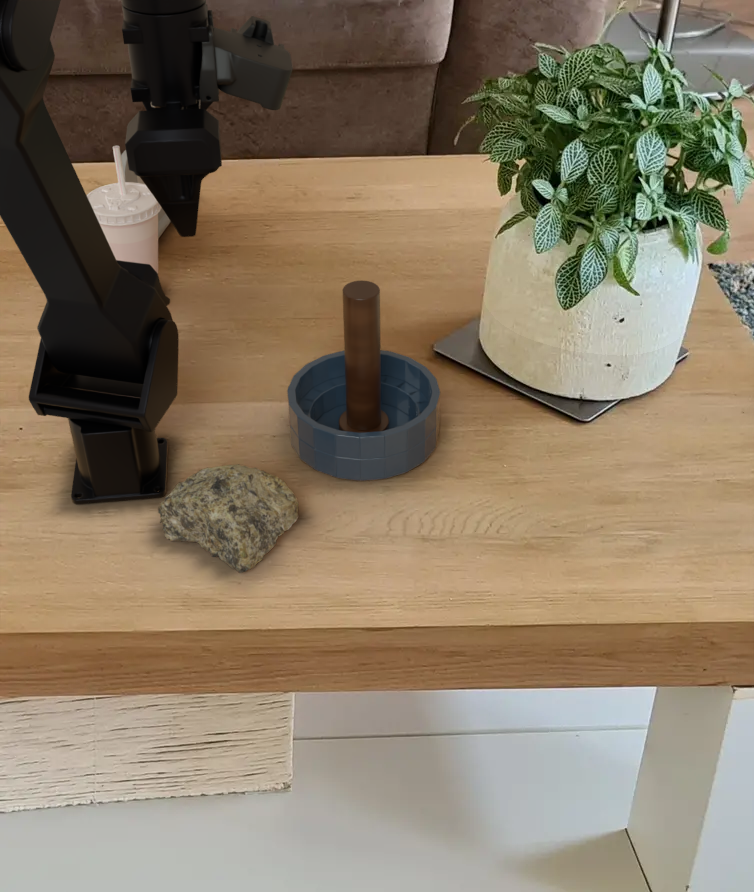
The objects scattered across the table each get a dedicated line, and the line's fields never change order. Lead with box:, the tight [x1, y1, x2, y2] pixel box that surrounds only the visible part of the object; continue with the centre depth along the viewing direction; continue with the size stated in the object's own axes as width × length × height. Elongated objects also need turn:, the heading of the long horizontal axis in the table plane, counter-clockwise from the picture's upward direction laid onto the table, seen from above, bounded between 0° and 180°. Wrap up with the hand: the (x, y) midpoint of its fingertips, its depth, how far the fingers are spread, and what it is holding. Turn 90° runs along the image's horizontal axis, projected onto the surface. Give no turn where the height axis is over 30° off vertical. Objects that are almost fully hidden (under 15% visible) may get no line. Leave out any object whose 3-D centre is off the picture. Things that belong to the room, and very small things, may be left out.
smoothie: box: [86, 145, 161, 274], centre depth 100 cm, size 6×6×14 cm
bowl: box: [286, 349, 441, 482], centre depth 88 cm, size 11×11×4 cm
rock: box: [157, 463, 299, 574], centre depth 79 cm, size 7×8×4 cm
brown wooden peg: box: [339, 279, 389, 433], centre depth 85 cm, size 4×4×13 cm
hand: (188, 207), depth 90 cm, fingers open, 9 cm apart
